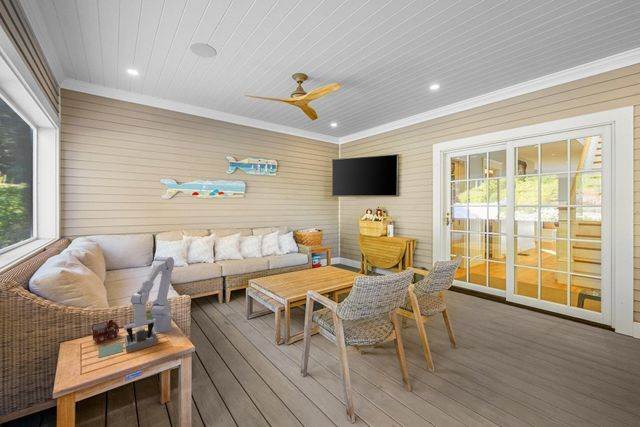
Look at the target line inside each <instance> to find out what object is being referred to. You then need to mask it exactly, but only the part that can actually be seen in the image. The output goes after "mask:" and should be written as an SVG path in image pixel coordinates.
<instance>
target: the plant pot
mask: <svg viewBox="0 0 640 427" xmlns="http://www.w3.org/2000/svg"><path fill="white" fill-rule="evenodd" d="M152 319H153V317H152V315H151V314H150V309H148V310H146V320H152Z"/></svg>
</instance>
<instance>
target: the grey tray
mask: <svg viewBox="0 0 640 427" xmlns="http://www.w3.org/2000/svg"><path fill="white" fill-rule="evenodd" d="M153 329H154V328H153ZM153 329H152V331H151V334H150V338H148V329H145V331H146V340H145V341H141V342H137V343H136V337H135V332H133V342H131V338H130V336H129V334H128V333H127V334H125V335H124V344H125V352H126V353H127V352H133V351H135V350H140V349H143V348H146V347H151V346H155V345H157V344H158V337H157V335H156V334H155V332H154V330H153Z"/></svg>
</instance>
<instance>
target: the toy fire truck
mask: <svg viewBox="0 0 640 427" xmlns="http://www.w3.org/2000/svg"><path fill="white" fill-rule="evenodd" d="M90 327H91V328H90V329H91V331H92V341H96V343H98V344H102V343H104V342H106V340H107V338H108V340H111V341H112V340H115V339H116V338H117V337H118V334H119V333H120V327H119V324H117V323H116V322H115V321H114V320H113V319H109V320H108V321H106V320H105V321H102V322H97V323H93V324H92V325H91V326H90Z"/></svg>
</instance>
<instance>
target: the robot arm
mask: <svg viewBox="0 0 640 427" xmlns="http://www.w3.org/2000/svg"><path fill="white" fill-rule="evenodd" d="M174 265H175V260H174V257H172V256H156V257H155V258H154V259H153V261H152V268H151V270H150V273H149V274H148V275H147V279H145V280H143V281H142V283H141V284H140V286H139V287H138V290H137V291H136V292H135V293H133V294H132V296H131V297H130V303H131V304H132V307H133V322H132V323H128V324H126V325H123V330H124V331H126V333H127V335H128V334H129V336H130V338H131V342H133V333H134V332H133V329H135V328H137V327H141V326H144V327H145V326H147V330H148V338H150V334H151V331H152V329H153V330H154V332H155V335H156V334H160V333H163V332H168V331H171V330H172V328H173V327H172V315H171V313H170V312H171V302H170V301H169V300H168V295H169V289H170V283H171V279H172V274H173V271H174V267H175V266H174ZM160 272H161V277H160V282H159V287H158V291H157V296H156V299H155V300H154V301H153V302H151V306H150V307H149V310H150V314H151V315H152V317H153V319H152V320H147V316H146V311H147V302H148V301H149V299H150V293H151V291H152V289H153V287H154V285H155V284H154V281H155V280H156V278H157V277H158V275H159V273H160Z"/></svg>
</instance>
